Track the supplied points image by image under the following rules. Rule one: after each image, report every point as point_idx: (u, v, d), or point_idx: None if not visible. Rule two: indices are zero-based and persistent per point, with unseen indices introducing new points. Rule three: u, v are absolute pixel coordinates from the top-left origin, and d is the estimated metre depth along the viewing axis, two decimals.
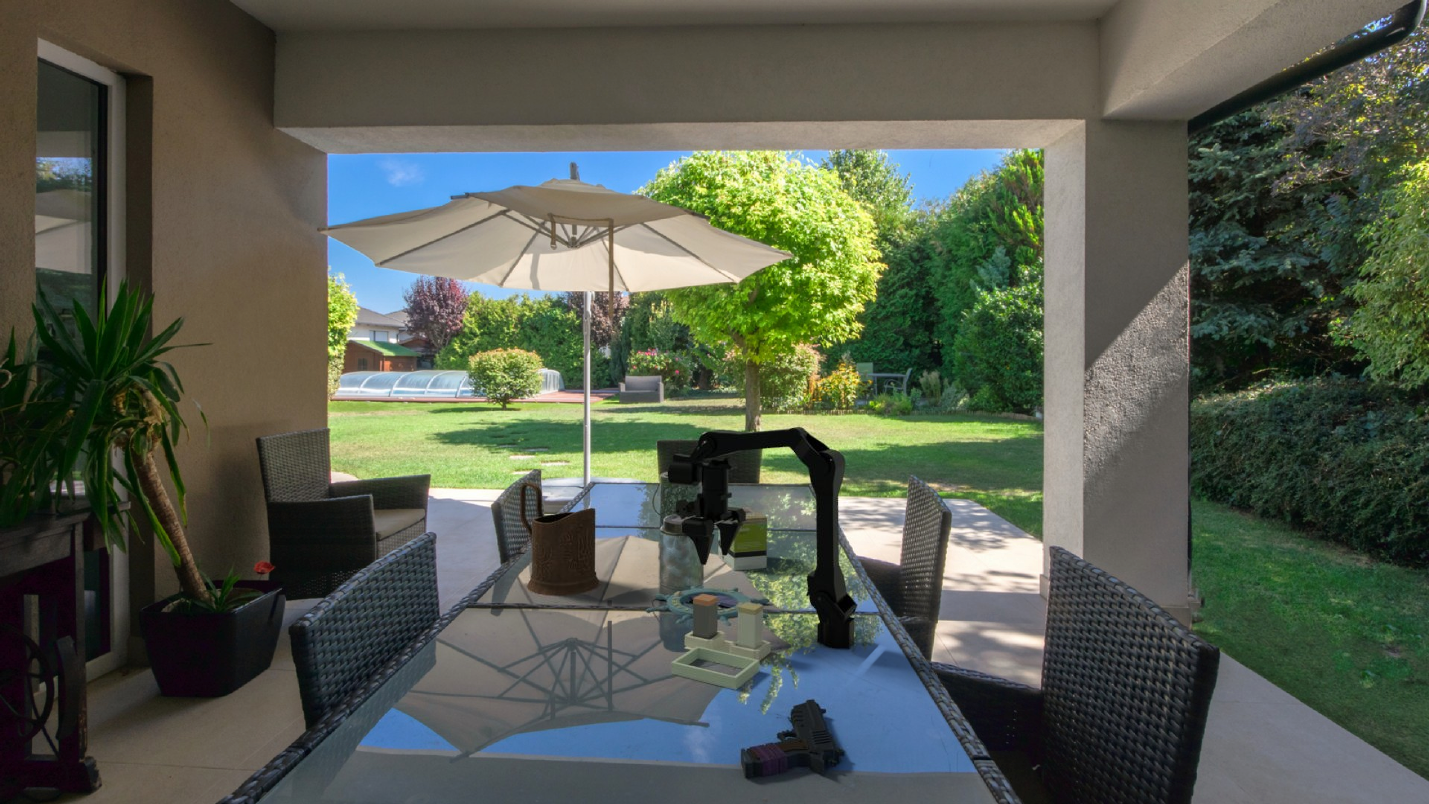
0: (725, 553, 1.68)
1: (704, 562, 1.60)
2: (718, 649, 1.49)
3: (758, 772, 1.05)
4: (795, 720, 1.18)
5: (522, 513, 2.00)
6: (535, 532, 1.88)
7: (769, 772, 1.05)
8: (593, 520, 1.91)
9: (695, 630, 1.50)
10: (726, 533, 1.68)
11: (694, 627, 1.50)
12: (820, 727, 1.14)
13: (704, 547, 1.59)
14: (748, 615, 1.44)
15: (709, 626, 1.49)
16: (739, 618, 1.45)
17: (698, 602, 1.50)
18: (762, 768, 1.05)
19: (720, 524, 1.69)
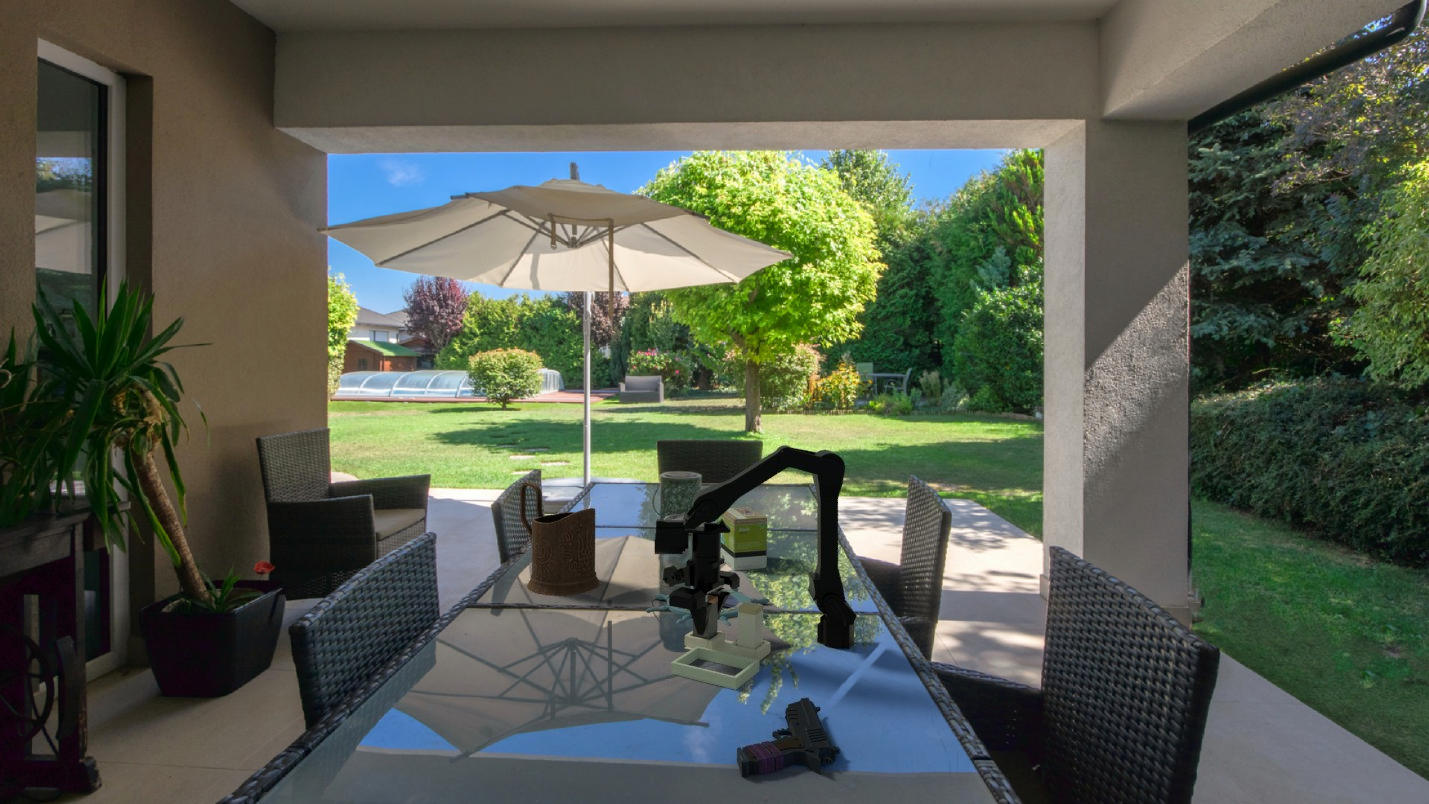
0: None
1: (701, 632, 1.49)
2: (718, 649, 1.49)
3: (754, 771, 1.05)
4: (790, 718, 1.18)
5: (522, 513, 2.00)
6: (535, 532, 1.88)
7: (765, 771, 1.06)
8: (593, 520, 1.91)
9: (695, 630, 1.50)
10: None
11: (694, 627, 1.50)
12: (815, 725, 1.15)
13: (701, 617, 1.48)
14: (748, 615, 1.44)
15: (709, 626, 1.49)
16: (739, 618, 1.45)
17: None
18: (759, 767, 1.06)
19: None
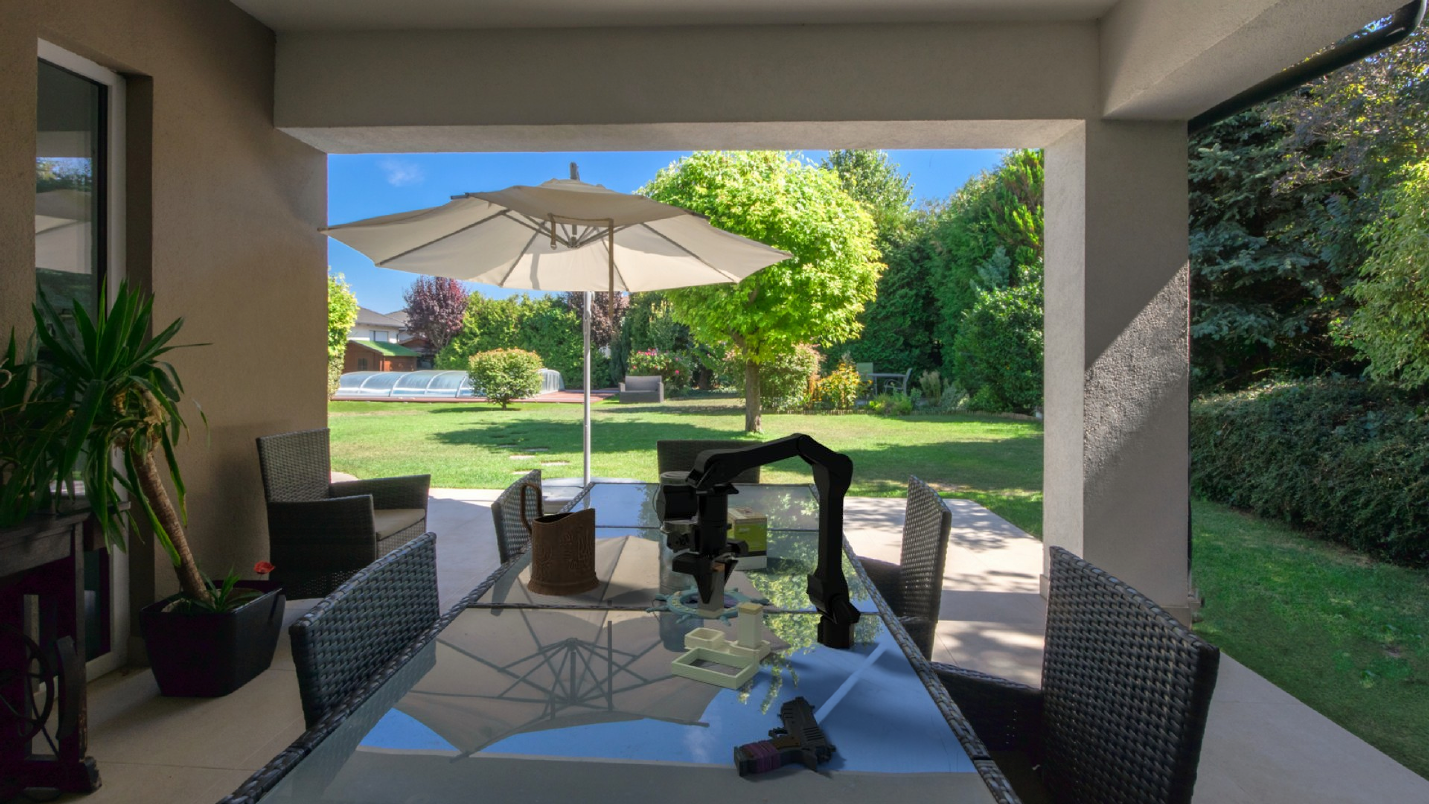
0: None
1: (706, 601, 1.40)
2: (718, 649, 1.49)
3: (752, 769, 1.06)
4: (785, 717, 1.18)
5: (522, 513, 2.00)
6: (535, 532, 1.88)
7: (763, 769, 1.06)
8: (593, 520, 1.91)
9: (700, 598, 1.41)
10: None
11: (699, 596, 1.42)
12: (811, 724, 1.15)
13: (706, 585, 1.39)
14: (748, 615, 1.44)
15: (714, 594, 1.40)
16: (739, 618, 1.45)
17: None
18: (756, 766, 1.06)
19: None
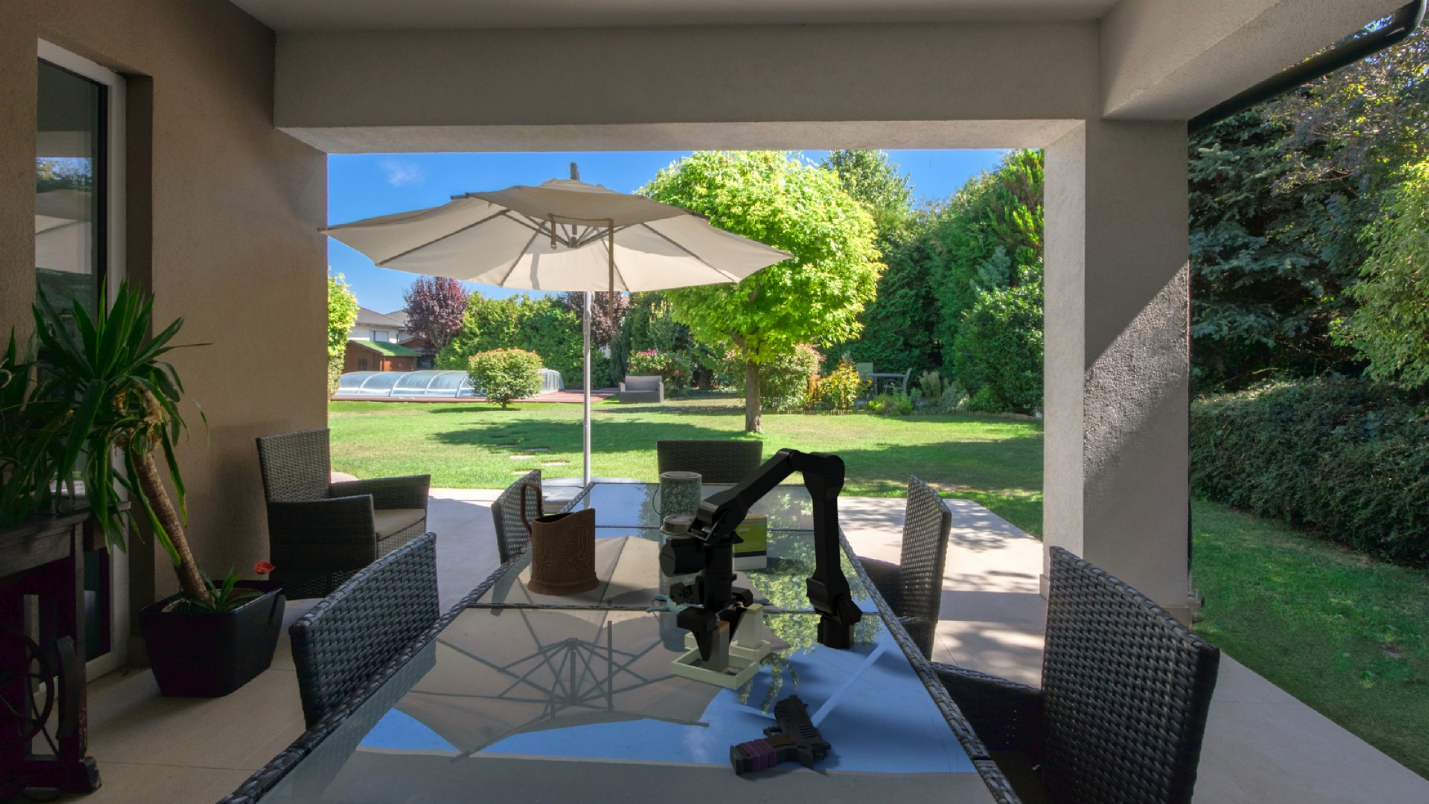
0: None
1: (706, 659, 1.34)
2: None
3: (748, 768, 1.06)
4: (780, 716, 1.19)
5: (522, 513, 2.00)
6: (535, 532, 1.88)
7: (759, 768, 1.06)
8: (593, 520, 1.91)
9: None
10: (727, 621, 1.41)
11: None
12: (805, 722, 1.16)
13: (706, 642, 1.32)
14: (748, 615, 1.44)
15: (719, 655, 1.35)
16: None
17: None
18: (753, 764, 1.06)
19: None
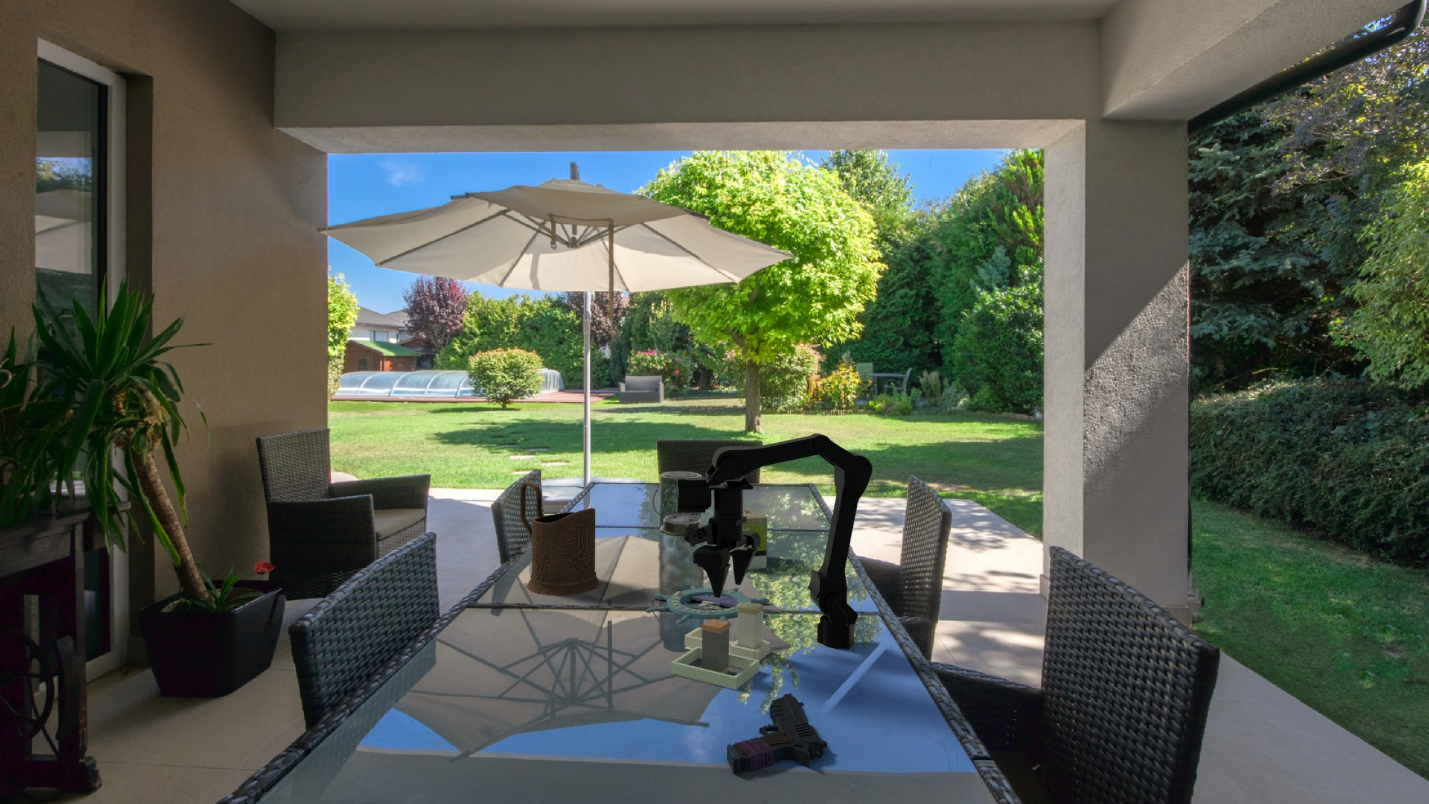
0: (739, 582, 1.52)
1: (718, 595, 1.44)
2: None
3: (746, 767, 1.06)
4: (775, 714, 1.19)
5: (522, 513, 2.00)
6: (535, 532, 1.88)
7: (756, 767, 1.07)
8: (593, 520, 1.91)
9: (704, 659, 1.37)
10: (740, 560, 1.53)
11: (703, 656, 1.37)
12: (801, 720, 1.16)
13: (718, 579, 1.43)
14: (748, 615, 1.44)
15: (719, 655, 1.35)
16: (739, 618, 1.45)
17: (708, 629, 1.36)
18: (750, 763, 1.06)
19: (733, 550, 1.54)
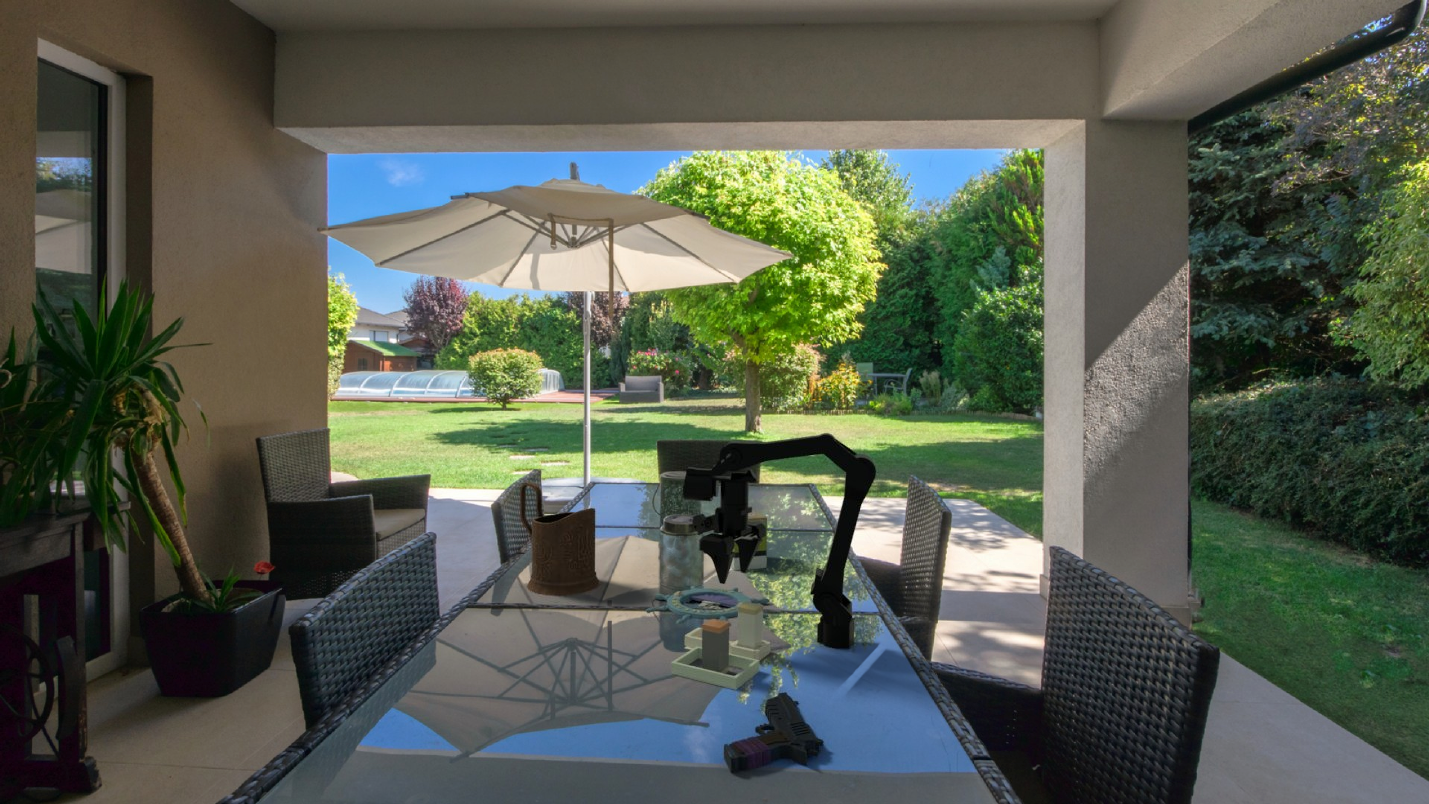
0: (744, 570, 1.59)
1: (723, 581, 1.51)
2: None
3: (743, 766, 1.06)
4: (771, 713, 1.20)
5: (522, 513, 2.00)
6: (535, 532, 1.88)
7: (754, 766, 1.07)
8: (593, 520, 1.91)
9: (704, 659, 1.37)
10: (745, 549, 1.59)
11: (703, 656, 1.37)
12: (797, 719, 1.17)
13: (723, 566, 1.50)
14: (748, 615, 1.44)
15: (719, 655, 1.35)
16: (739, 618, 1.45)
17: (708, 629, 1.36)
18: (747, 762, 1.07)
19: (739, 540, 1.60)
